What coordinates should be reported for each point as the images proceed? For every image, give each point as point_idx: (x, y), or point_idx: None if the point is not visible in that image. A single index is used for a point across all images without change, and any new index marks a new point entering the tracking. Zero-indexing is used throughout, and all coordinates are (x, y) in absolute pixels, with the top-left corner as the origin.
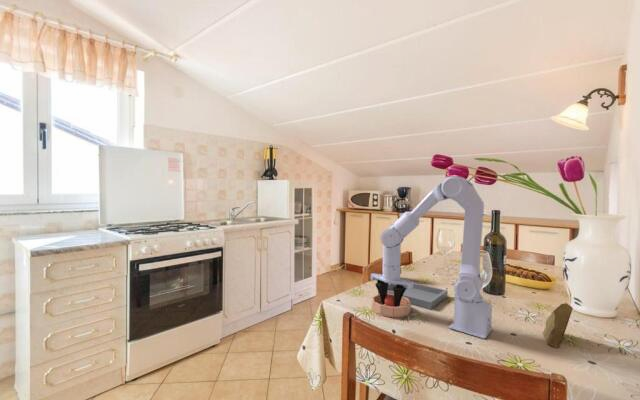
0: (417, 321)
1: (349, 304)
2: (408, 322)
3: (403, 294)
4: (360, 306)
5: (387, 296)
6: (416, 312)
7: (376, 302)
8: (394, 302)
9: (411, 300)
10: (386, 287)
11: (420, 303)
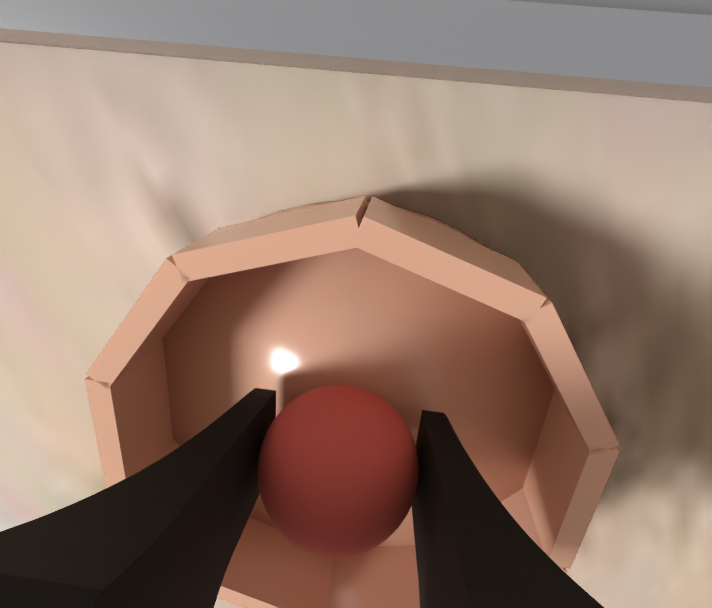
0: (664, 503)
1: (10, 474)
2: (586, 548)
3: (372, 10)
4: (101, 466)
5: (292, 541)
6: (633, 317)
7: (245, 596)
8: (415, 536)
9: (543, 81)
10: (177, 573)
11: (708, 96)
